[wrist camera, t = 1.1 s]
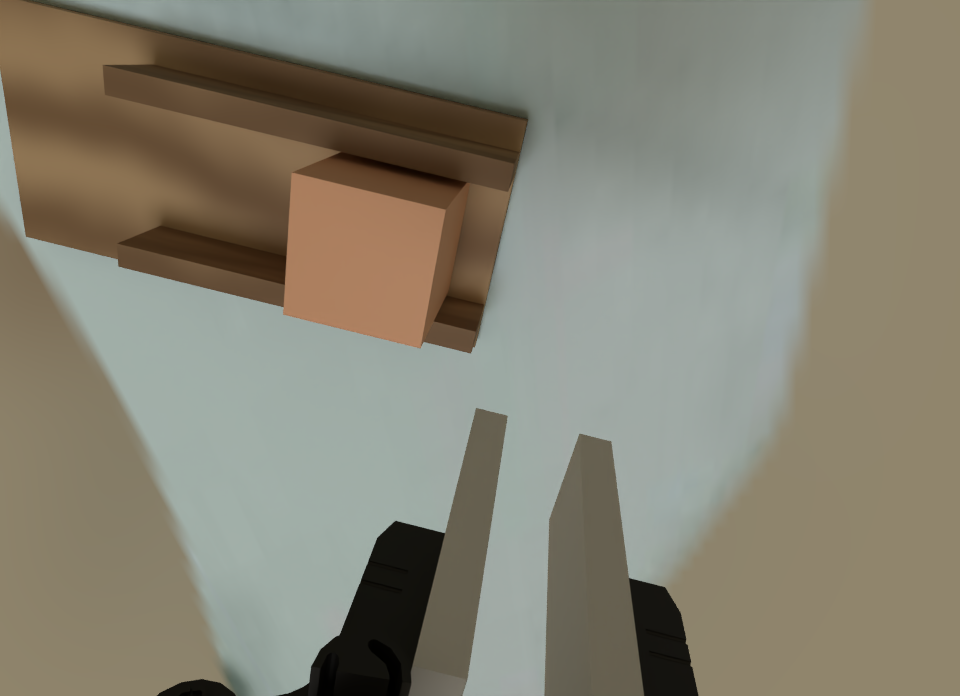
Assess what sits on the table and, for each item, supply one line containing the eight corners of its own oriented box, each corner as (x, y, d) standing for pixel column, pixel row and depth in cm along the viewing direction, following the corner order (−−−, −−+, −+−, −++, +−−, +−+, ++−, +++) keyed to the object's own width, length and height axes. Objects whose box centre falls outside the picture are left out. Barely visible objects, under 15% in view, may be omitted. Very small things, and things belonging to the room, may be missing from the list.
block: (351, 147, 28) (291, 172, 22) (471, 176, 28) (445, 209, 22) (339, 263, 31) (283, 314, 25) (448, 290, 31) (420, 348, 25)
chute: (6, -5, 28) (-86, -17, 24) (528, 119, 28) (522, 129, 24) (40, 231, 34) (-31, 254, 30) (477, 339, 33) (465, 377, 29)
